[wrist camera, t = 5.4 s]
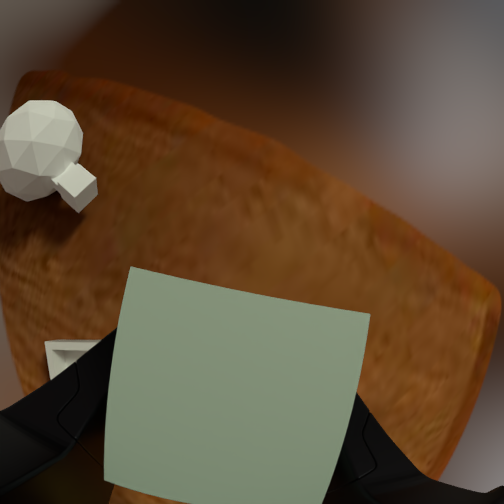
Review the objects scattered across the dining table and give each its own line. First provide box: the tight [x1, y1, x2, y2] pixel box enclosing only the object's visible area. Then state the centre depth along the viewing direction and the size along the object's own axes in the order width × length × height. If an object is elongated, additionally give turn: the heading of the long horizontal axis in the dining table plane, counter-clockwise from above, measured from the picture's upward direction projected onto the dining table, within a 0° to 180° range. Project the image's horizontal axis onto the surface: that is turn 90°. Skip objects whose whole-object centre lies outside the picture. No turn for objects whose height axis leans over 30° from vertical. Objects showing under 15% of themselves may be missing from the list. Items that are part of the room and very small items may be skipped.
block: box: [104, 267, 370, 504], centre depth 9 cm, size 4×4×11 cm
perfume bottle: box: [0, 101, 98, 213], centre depth 18 cm, size 9×9×12 cm
